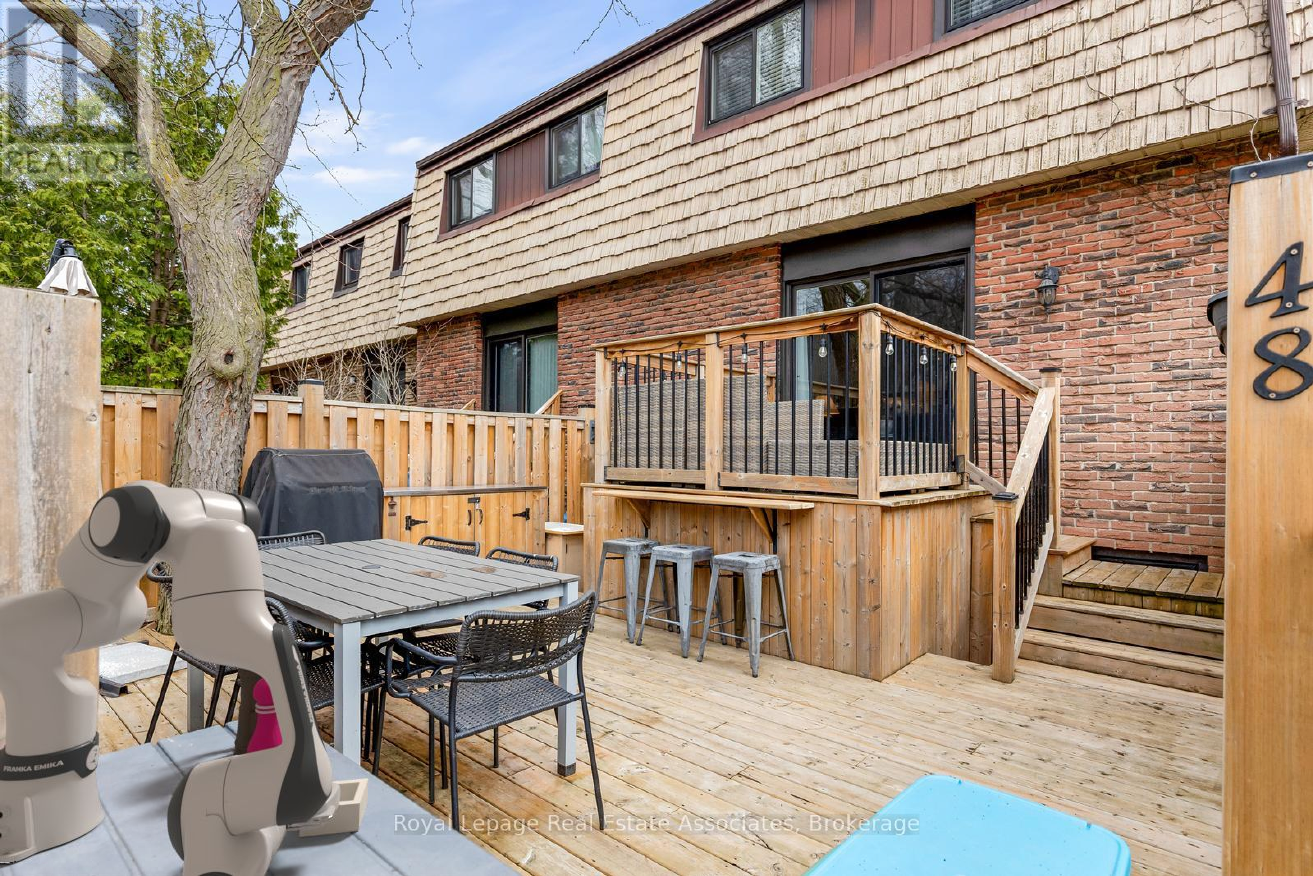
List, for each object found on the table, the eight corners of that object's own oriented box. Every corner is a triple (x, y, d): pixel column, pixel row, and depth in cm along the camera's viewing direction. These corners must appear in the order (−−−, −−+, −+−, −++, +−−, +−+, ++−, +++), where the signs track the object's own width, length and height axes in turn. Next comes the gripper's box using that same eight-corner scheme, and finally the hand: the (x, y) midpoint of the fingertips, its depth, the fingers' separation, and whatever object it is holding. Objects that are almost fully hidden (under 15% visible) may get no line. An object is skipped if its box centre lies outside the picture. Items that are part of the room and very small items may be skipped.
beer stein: (301, 756, 139) (303, 656, 140) (242, 772, 131) (245, 666, 133) (276, 738, 149) (278, 646, 151) (220, 753, 141) (222, 655, 143)
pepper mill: (269, 783, 127) (273, 675, 128) (236, 779, 129) (241, 672, 129) (297, 766, 134) (301, 664, 135) (265, 762, 136) (269, 661, 136)
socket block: (299, 837, 110) (300, 809, 110) (312, 809, 118) (313, 783, 118) (358, 830, 112) (359, 803, 112) (367, 804, 121) (368, 778, 121)
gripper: (332, 800, 100) (349, 759, 113) (172, 815, 95) (210, 770, 108) (330, 843, 100) (348, 797, 113) (170, 861, 94) (208, 811, 108)
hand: (279, 784), depth 110 cm, fingers open, 8 cm apart
